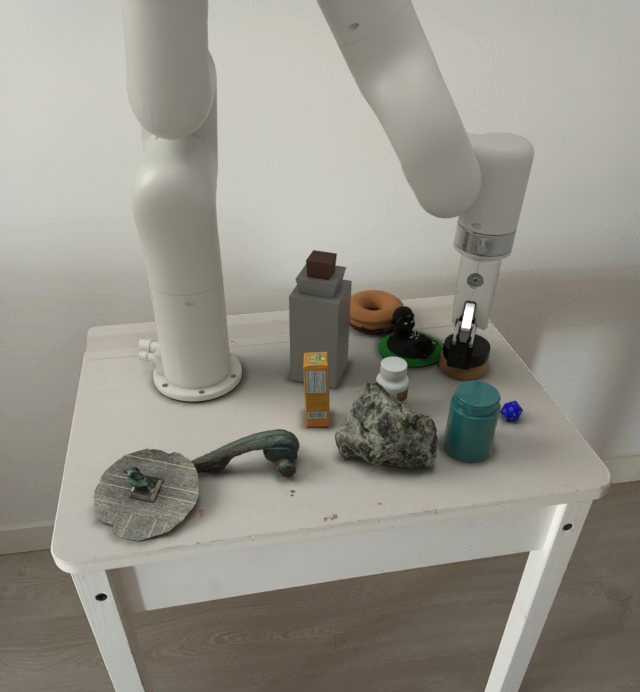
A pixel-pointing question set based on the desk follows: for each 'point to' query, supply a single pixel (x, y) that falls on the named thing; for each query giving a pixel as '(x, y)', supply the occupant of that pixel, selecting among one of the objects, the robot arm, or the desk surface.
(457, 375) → the brown round disc
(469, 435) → the jar
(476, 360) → the lid
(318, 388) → the supplement box
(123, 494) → the sculpture
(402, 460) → the rock
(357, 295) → the donut
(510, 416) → the die
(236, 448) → the decorative handle
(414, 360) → the toy figurine
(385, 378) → the pill bottle
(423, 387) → the desk surface
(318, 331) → the perfume bottle
